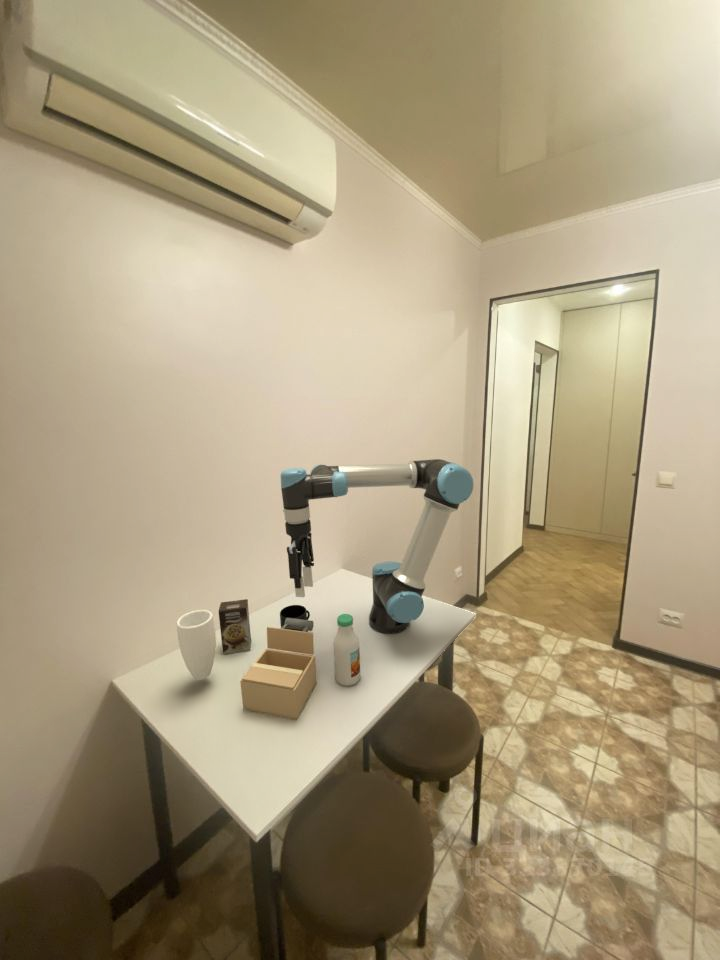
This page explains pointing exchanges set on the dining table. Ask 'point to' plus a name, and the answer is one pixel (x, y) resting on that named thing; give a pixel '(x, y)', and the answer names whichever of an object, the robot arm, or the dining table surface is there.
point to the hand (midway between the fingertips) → (304, 591)
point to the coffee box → (235, 626)
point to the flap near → (292, 636)
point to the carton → (279, 683)
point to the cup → (197, 642)
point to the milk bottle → (346, 652)
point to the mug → (293, 614)
